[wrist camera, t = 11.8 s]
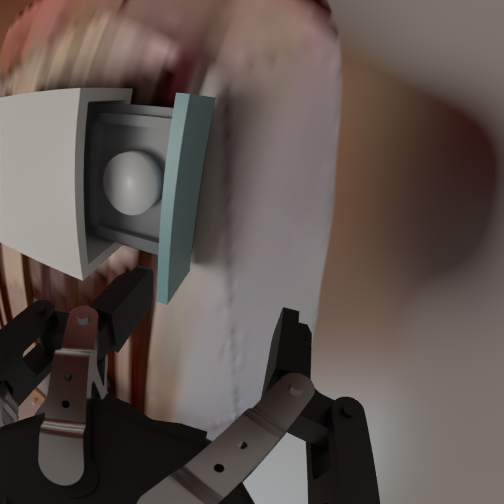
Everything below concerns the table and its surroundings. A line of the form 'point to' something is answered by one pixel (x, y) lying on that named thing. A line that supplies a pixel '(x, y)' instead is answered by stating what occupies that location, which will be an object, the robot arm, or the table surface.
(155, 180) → the disc
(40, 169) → the housing
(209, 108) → the grey drawer
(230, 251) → the table surface
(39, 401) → the lidded jar
